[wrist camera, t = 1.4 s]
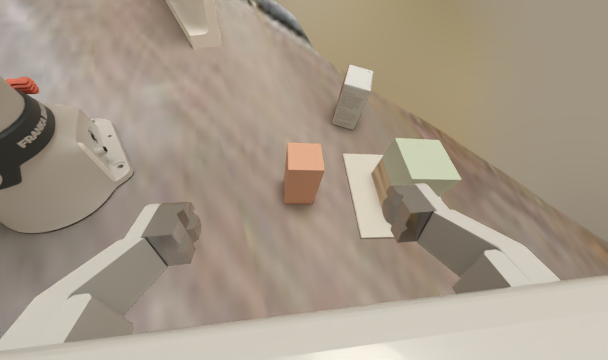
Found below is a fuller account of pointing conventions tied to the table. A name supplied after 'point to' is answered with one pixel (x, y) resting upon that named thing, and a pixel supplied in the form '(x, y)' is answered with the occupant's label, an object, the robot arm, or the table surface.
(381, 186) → the wooden block
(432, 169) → the sage slab
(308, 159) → the terracotta block
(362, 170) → the felt pad
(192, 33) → the white stand
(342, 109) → the small box
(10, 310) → the table surface
